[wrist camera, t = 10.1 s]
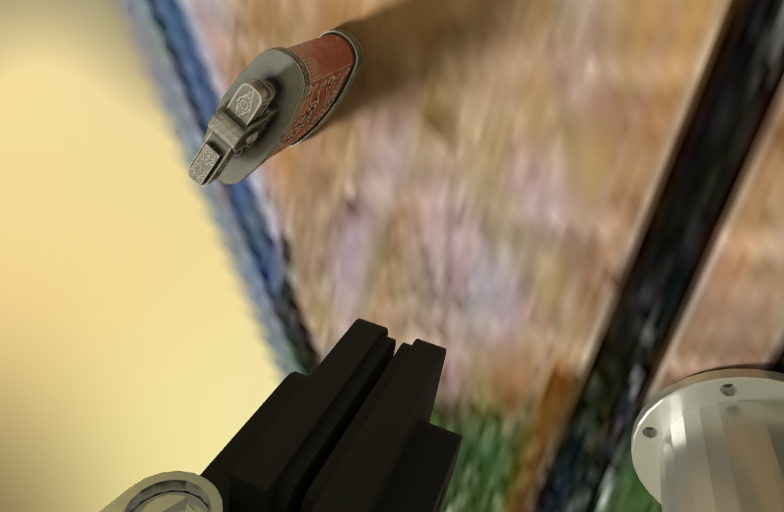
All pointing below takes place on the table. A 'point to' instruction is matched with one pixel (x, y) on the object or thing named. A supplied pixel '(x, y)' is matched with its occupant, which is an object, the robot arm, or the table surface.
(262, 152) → the lighter
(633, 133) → the table surface
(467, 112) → the table surface
